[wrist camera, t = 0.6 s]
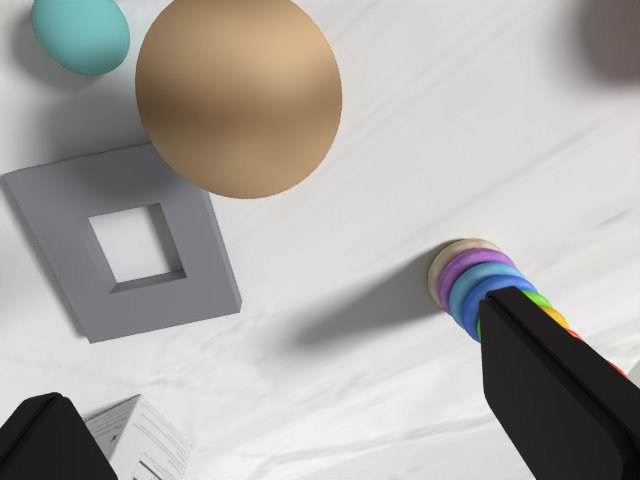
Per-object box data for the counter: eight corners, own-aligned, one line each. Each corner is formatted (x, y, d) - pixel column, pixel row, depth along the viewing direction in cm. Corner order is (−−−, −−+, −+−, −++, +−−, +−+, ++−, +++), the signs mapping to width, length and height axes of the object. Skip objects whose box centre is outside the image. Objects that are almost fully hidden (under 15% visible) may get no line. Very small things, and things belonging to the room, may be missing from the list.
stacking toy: (428, 314, 40) (540, 491, 23) (420, 245, 37) (542, 390, 20) (502, 296, 40) (670, 460, 23) (500, 227, 37) (693, 354, 20)
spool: (173, 36, 28) (100, 5, 17) (306, 9, 28) (322, -39, 17) (213, 168, 32) (175, 215, 21) (329, 144, 32) (355, 178, 21)
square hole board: (18, 169, 31) (2, 174, 29) (190, 134, 31) (184, 137, 29) (99, 330, 37) (90, 343, 35) (241, 301, 37) (239, 312, 35)
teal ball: (46, -2, 27) (-9, -21, 22) (124, -17, 27) (87, -40, 22) (80, 82, 29) (37, 82, 24) (152, 67, 29) (124, 64, 24)
